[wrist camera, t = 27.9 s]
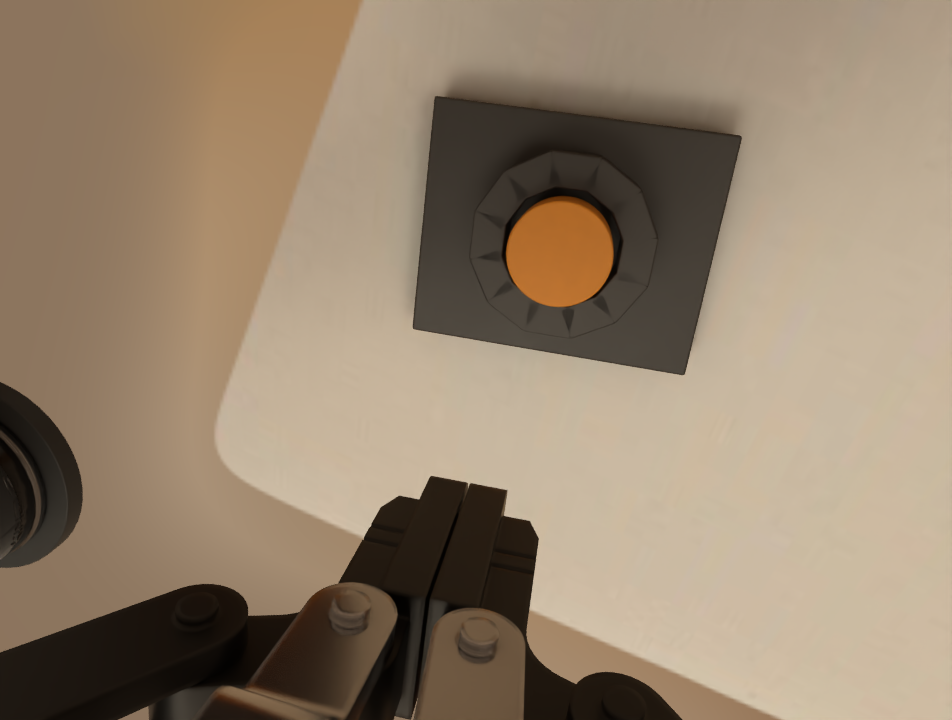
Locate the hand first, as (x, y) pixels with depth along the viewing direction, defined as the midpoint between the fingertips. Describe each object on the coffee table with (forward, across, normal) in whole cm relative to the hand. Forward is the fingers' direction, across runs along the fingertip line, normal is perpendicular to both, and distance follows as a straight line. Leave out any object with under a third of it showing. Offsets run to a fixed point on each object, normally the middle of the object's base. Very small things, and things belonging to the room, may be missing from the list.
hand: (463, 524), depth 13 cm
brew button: (+14, -1, -3) cm, 14 cm away
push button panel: (+17, -1, -3) cm, 17 cm away
